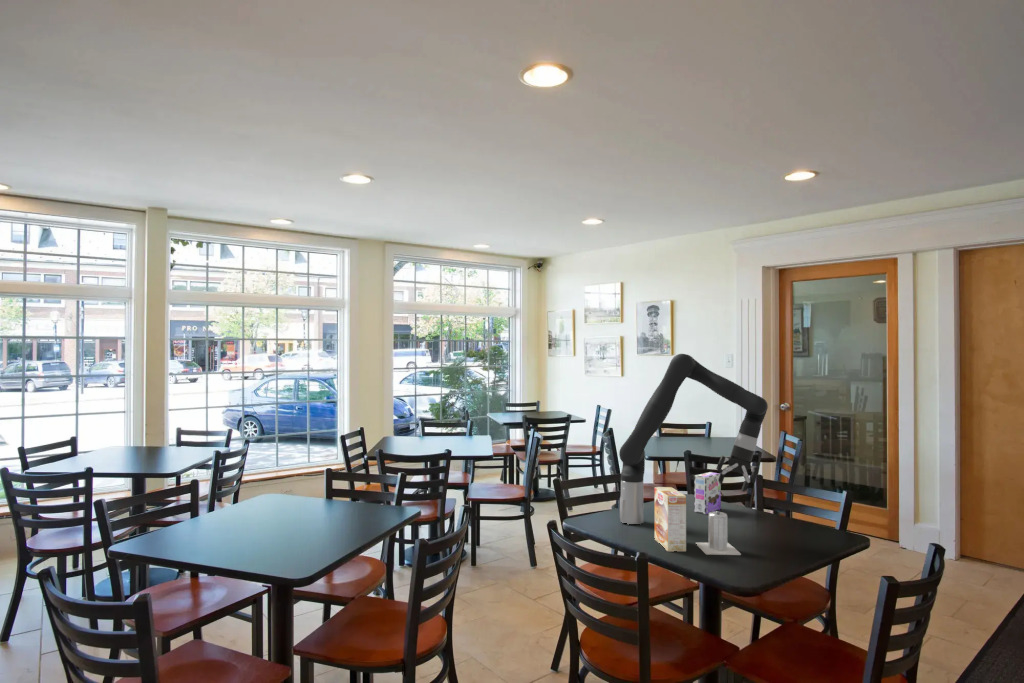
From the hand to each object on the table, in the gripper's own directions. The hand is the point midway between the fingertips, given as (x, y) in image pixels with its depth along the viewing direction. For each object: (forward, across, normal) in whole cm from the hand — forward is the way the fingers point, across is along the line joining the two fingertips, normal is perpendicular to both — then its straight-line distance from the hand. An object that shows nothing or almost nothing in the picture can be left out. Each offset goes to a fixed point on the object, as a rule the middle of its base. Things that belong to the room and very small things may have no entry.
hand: (731, 487), depth 223 cm
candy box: (+19, +4, +41) cm, 46 cm away
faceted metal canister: (+20, -2, -15) cm, 25 cm away
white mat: (+21, -2, -15) cm, 26 cm away
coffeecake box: (+26, -18, -13) cm, 34 cm away
